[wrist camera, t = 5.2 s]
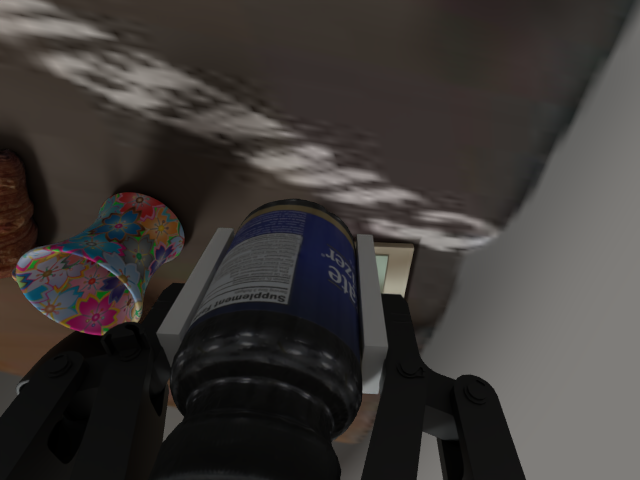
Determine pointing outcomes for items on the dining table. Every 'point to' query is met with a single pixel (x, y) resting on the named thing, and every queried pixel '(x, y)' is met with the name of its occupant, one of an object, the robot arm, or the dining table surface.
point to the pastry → (14, 213)
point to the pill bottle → (270, 354)
